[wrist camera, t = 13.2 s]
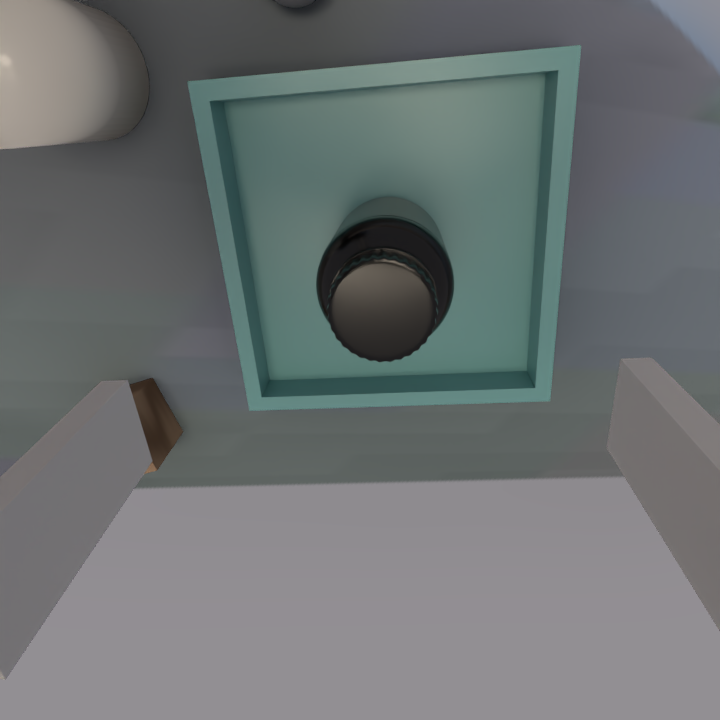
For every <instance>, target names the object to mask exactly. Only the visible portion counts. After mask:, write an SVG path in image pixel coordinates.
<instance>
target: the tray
mask: <svg viewBox="0 0 720 720" xmlns="http://www.w3.org/2000/svg"><path fill="white" fill-rule="evenodd" d="M580 54H581V45H576V46H565V47H554V48H543V49H533V50H522V51H511V52H500V53H489V54H479V55H468V56H457V57H446V58H435V59H424V60H414V61H403V62H392V63H381V64H370V65H360V66H349V67H338V68H327V69H316V70H306V71H295V72H284V73H273V74H262V75H252V76H241V77H230V78H219V79H208V80H198V81H187V83H188V88H189V93H190V99H191V104H192V109H193V115H194V120H195V125H196V130H197V136H198V141H199V146H200V152H201V157H202V162H203V167H204V173H205V178H206V183H207V189H208V194H209V199H210V204H211V210H212V215H213V220H214V225H215V231H216V236H217V241H218V247H219V252H220V257H221V262H222V268H223V273H224V278H225V284H226V289H227V294H228V299H229V305H230V310H231V315H232V320H233V326H234V331H235V336H236V342H237V347H238V352H239V357H240V363H241V368H242V373H243V379H244V384H245V389H246V394H247V400H248V405H249V410H250V411H257V410H289V409H320V408H351V407H383V406H414V405H446V404H477V403H508V402H540V401H550V397H551V385H552V374H553V362H554V351H555V339H556V328H557V316H558V305H559V294H560V282H561V271H562V259H563V248H564V236H565V225H566V214H567V202H568V191H569V179H570V168H571V156H572V145H573V134H574V122H575V111H576V99H577V88H578V76H579V65H580ZM379 197H399V198H403V199H407V200H409V201H412V202H413V203H415V204H417V205H419V206H420V207H422V208H423V209H424V210H425V211H426V212H427V213H428V214H429V215H430V216H431V217H432V219H433V220H434V221H435V223H436V225H437V227H438V229H439V231H440V233H441V236H442V238H443V241H444V244H445V247H446V249H447V252H448V255H449V258H450V261H451V264H452V268H453V274H454V294H453V299H452V303H451V306H450V309H449V311H448V313H447V315H446V317H445V319H444V320H443V322H442V323H441V325H440V326H439V327H438V328H437V329H436V330H435V332H433V333H432V334H431V335H430V336H429V337H428V338H427V342H426V343H425V344H423V345H421V347H420V349H419V350H417V351H414V352H413V353H412V354H411V355H410V356H405V357H404V358H402V359H401V360H394V361H392V362H387V361H384V362H377V361H369V360H367V359H366V358H360V357H358V356H357V355H356V354H353V353H350V351H349V350H348V349H347V348H345V347H343V346H342V344H341V342H340V341H338V340H337V339H336V337H335V333H334V332H332V330H331V325H330V324H329V323H328V321H327V320H326V318H325V317H324V315H323V313H322V310H321V308H320V305H319V302H318V298H317V292H316V277H317V271H318V267H319V263H320V260H321V258H322V255H323V253H324V251H325V249H326V248H327V246H328V244H329V243H330V241H331V239H332V238H333V236H334V235H335V233H336V231H337V230H338V228H339V226H340V225H341V223H342V222H343V220H344V219H345V218H346V217H347V215H348V214H349V213H350V212H351V211H352V210H354V209H355V208H356V207H358V206H359V205H361V204H362V203H364V202H366V201H369V200H372V199H375V198H379Z"/></svg>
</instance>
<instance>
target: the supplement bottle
mask: <svg viewBox="0 0 720 720" xmlns="http://www.w3.org/2000/svg"><path fill="white" fill-rule="evenodd" d="M316 292H317V298H318V302H319V305H320V308H321V310H322V313H323V315H324V317H325V318H326V320H327V321H328V323H329V324H330V325H331V330H332V332H334V333H335V337H336V339H337V340H338V341H340V342H341V344H342V346H343V347H345V348H347V349H348V350H349V351H350V353H353V354H356V355H357V356H358V357H360V358H366V359H367V360H369V361H377V362H384V361H387V362H392V361H394V360H401V359H402V358H404V357H405V356H410V355H411V354H412V353H413V352H414V351H417V350H419V349H420V347H421V345H423V344H425V343H426V342H427V338H428V337H429V336H430V335H431V334H432V333H433V332H435V330H436V329H437V328H438V327H439V326H440V325H441V323H442V322H443V320H444V319H445V317H446V315H447V313H448V311H449V309H450V306H451V303H452V299H453V294H454V274H453V268H452V264H451V261H450V258H449V255H448V252H447V249H446V247H445V244H444V241H443V238H442V236H441V233H440V231H439V229H438V227H437V225H436V223H435V221H434V220H433V219H432V217H431V216H430V215H429V214H428V213H427V212H426V211H425V210H424V209H423V208H422V207H420V206H419V205H417V204H415V203H413V202H412V201H409V200H407V199H403V198H399V197H379V198H375V199H372V200H369V201H366V202H364V203H362V204H361V205H359V206H358V207H356V208H355V209H354V210H352V211H351V212H350V213H349V214H348V215H347V217H346V218H345V219H344V220H343V222H342V223H341V225H340V226H339V228H338V230H337V231H336V233H335V235H334V236H333V238H332V239H331V241H330V243H329V244H328V246H327V248H326V249H325V251H324V253H323V255H322V258H321V260H320V263H319V267H318V271H317V277H316Z"/></svg>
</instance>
